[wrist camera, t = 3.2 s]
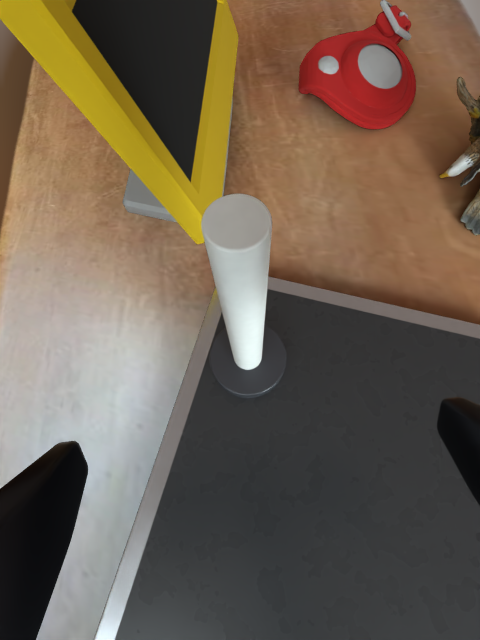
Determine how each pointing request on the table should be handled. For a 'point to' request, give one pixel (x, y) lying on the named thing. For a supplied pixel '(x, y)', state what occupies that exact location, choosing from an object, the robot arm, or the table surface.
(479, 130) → the eagle figurine
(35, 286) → the table surface
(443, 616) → the tablet
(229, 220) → the white peg on base
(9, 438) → the table surface
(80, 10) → the toy computer monitor
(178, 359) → the table surface
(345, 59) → the tracker holder
